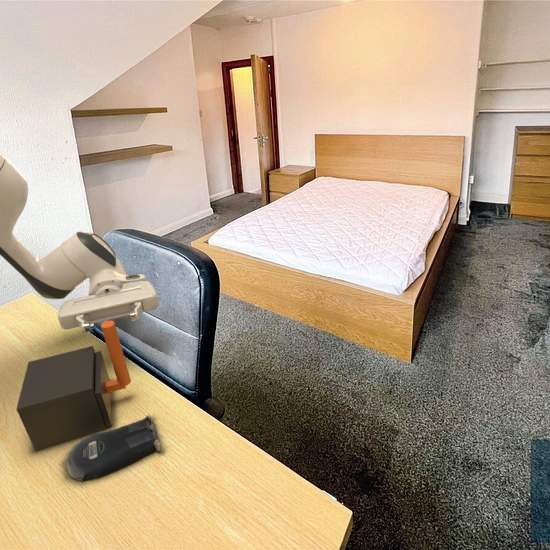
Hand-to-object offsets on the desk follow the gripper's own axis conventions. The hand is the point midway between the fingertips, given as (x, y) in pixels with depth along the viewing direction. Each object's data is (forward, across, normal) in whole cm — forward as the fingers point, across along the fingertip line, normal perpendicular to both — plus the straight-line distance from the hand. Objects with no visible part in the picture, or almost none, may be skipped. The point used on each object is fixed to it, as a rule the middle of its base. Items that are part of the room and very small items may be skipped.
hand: (111, 323), depth 83 cm
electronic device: (+19, -3, +16) cm, 25 cm away
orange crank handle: (+7, -7, +14) cm, 17 cm away
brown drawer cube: (+6, -10, +15) cm, 20 cm away
